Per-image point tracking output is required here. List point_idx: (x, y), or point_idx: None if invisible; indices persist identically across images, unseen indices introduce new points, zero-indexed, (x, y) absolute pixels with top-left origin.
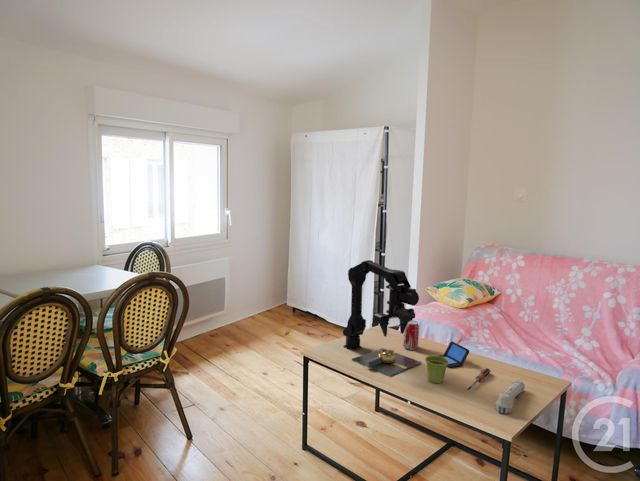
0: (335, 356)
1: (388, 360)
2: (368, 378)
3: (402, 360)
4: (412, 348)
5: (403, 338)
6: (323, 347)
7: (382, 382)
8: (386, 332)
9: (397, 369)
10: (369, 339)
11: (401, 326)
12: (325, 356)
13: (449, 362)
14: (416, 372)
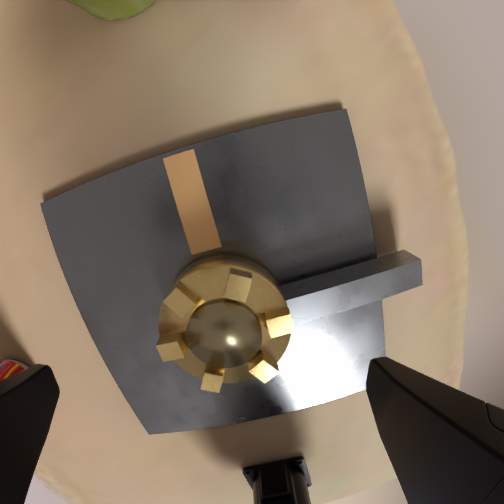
0: None
1: (250, 265)
2: (449, 156)
3: (126, 271)
4: (20, 365)
5: None
6: (376, 480)
7: (415, 81)
8: (418, 389)
9: (244, 158)
10: (163, 497)
11: (13, 456)
12: None
13: None
14: (144, 96)
